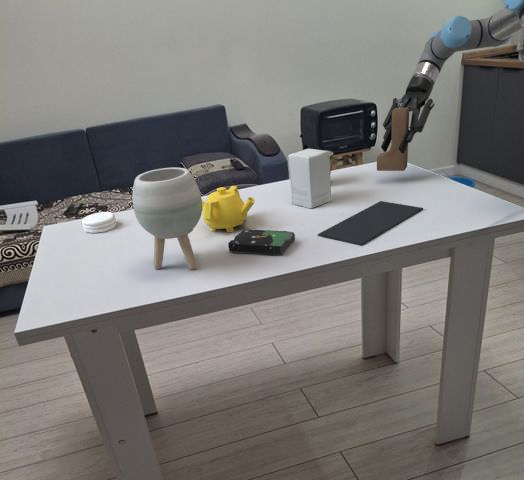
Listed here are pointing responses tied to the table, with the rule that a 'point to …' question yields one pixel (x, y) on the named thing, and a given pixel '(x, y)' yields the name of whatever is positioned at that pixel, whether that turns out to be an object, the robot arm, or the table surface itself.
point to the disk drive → (262, 242)
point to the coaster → (99, 222)
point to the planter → (168, 209)
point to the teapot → (225, 209)
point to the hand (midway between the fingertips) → (392, 150)
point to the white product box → (310, 177)
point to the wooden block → (396, 143)
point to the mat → (370, 222)
